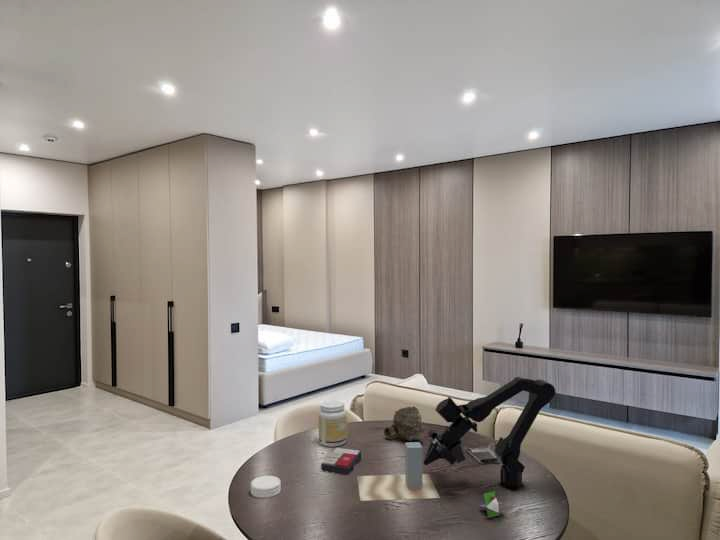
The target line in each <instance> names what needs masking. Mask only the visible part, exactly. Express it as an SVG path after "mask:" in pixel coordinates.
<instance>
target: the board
mask: <svg viewBox="0 0 720 540" xmlns="http://www.w3.org/2000/svg"><path fill="white" fill-rule="evenodd" d="M356 479H357V486H358V494H359V500H360V502H363V501H364V502H367V501H391V500H392V501H395V500H419V499H420V500H422V499H424V500H425V499H441V497H440V495H439V493H438V491H437V489H436V487H435V485H434V483H433V481H432V479H431V476H430V475H429V473H422V489H407V486H406V483H405V474H383V475H382V474H381V475H380V474H379V475H357V476H356Z"/></svg>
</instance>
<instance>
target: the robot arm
mask: <svg viewBox="0 0 720 540" xmlns="http://www.w3.org/2000/svg"><path fill="white" fill-rule="evenodd" d="M521 392H527V393H528V400H527V402H526V404H525V406H524V408H523V409H522V411H521V413H520V415H519V417H518V418H517V420H516V422H515V424H514V425H513V427H512V429H511V430H510V432H509V434H508V435H507V436H506V437H505V438H504V437H502V436H500V437H499V438H498V440H497V441H498V442H497V443H496V444H495V445H494V447H495V448H494V453H495V455H496V457H497V458H498V459H499V462H500V464H502V465H501V466H500V472H499V473H500V474H499V475H500V476H499V479H500V482H498V485H499V486H501V487H504V488H506V489H509V490H511V491H513V492H515V491H517V490H519V489H521V488H524V487H525V483H523V473H524V470H525V468H526V467H525V465H524V464H523V463H522V461H520V460H519V458H520V455H521V446H522V443H523V442H524V439H525V438H526V437H527V435H528V432H529V431H530V429H531V428H532V425H533V424H534V422H535V420H536V419H537V417H538V415H539V413H540V412H541V410H542V409H543V408H545V406H547V405H549V404H550V402H551V401H552V400H553V399H554V397H555V395H556V393H557V392H556V389H555V387H554V385H553V384H552V383H549V382H548V381H546V380H544V379H542V378H541V379H540V378H539V379H535V380H534V379H530V378H525V377H524V378H523V377H522V376H516V377H514V378H513V379H512V380H511V381H509V382H507V383H506V384H504V385H502V386H501V387H499V388H498V389H496V390H494V391H493V392H491V393H490V394H488V395H486V396H483V397H478V398H476V399H473V400H470V401H469V402H467V403H465V404H459V405H458V404H456V403H455V401H454V400H453V399H452V398H451V397H450V396H449V397H447V398H445V399H443V400H441V401H439V403H438V404H437V406H436V407H435V412H436V413H438V415H439V416H440V417H441V418H442V419H443V420H444V421H445V422H446V423H451V424H449V426H448V425H446V426H445V427H444V429H445V430H444V431H443V432H442V433H441V434H440V433H439V432H438V431H436V430H435V429H431V430H429V432H428V433H427V435H428V436H429V437H430V438H431V439H430V440H429V445H428V447H427V451H426V453H425V457H424V460H423V461H422V464H423V465H424V466H428V465H430V464H431V463H434V462H435V461H437V460H441V459H442V460H445V461H447V462H448V463H450V465H451V466H454V465H455V463H457V464H460V463H462V462H464V461H466V460H467V459H466V457H465V455H464V453H463V447H462V439H463V438H465V435H466V434H468V433H469V432H470V431H471V430H473V431H474V432H475V433H477V432H478V424H477V423H481V422H483V421H485V420H486V418H488V417H489V416H490V415H491V414H492V412H493V410H494V409H495V408H497V407H499V406H501V405H502V404H503V403H505V402H506V401H508V400H510V399H512V397H515V396H516V395H518V394H520V393H521ZM461 414H462V415H461ZM463 416H464V417H463ZM470 419H471V420H470Z"/></svg>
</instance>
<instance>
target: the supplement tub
mask: <svg viewBox="0 0 720 540" xmlns="http://www.w3.org/2000/svg"><path fill="white" fill-rule="evenodd" d="M319 409H320V410H318V443H319V444H320V445H321V446H324V447H329V448H335V447H336V448H337V447H341V446H343V445H345V444H346V442H347V410H346V409H345V403H344V402H342V401H339V400H326V401H323V402H321V403H320V407H319Z"/></svg>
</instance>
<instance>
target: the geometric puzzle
mask: <svg viewBox="0 0 720 540" xmlns="http://www.w3.org/2000/svg"><path fill="white" fill-rule="evenodd" d="M496 496H497V495H496V492H495V490H493V491H489V492H484V493H482V499H481V500H484V504H478V505H477V506H478V507H479V508H480V509H482V508H483V507H484V508H486V516H487V518H492V517H496V516H500V514H501V512H502V511H500V505H499V504H501V505H502V504H503V505H502V507H501V508H503V506H504V505H505V503H504V501H501V500H502V499H499V498H497V497H496ZM498 500H499V501H498Z"/></svg>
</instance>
